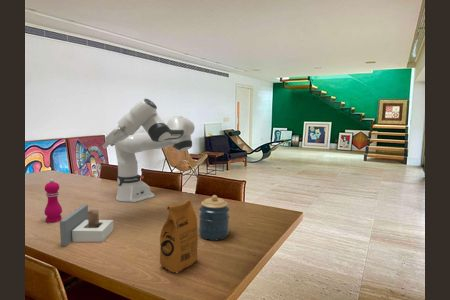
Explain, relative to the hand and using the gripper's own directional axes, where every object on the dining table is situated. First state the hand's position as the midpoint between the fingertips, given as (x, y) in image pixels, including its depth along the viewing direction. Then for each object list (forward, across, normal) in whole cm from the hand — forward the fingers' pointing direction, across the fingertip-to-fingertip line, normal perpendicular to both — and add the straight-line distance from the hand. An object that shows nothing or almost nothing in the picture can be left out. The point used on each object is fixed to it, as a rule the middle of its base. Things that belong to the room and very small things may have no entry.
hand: (107, 146), depth 138 cm
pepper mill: (+42, -4, -8) cm, 43 cm away
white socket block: (+25, -21, -26) cm, 41 cm away
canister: (-11, -19, -62) cm, 65 cm away
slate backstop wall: (+30, -21, -20) cm, 41 cm away
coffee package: (-3, -43, -53) cm, 68 cm away
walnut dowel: (+24, -20, -25) cm, 40 cm away
